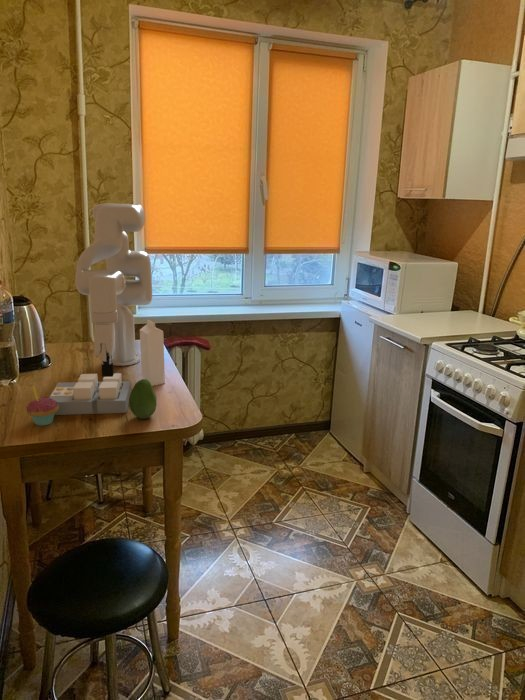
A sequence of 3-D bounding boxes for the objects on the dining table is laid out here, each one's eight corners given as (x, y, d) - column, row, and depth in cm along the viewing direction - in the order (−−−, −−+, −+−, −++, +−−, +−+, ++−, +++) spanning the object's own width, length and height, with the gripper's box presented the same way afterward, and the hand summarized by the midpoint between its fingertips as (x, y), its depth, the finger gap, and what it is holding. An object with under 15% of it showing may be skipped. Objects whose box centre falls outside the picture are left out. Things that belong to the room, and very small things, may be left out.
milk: (149, 387, 181) (146, 324, 175) (141, 381, 186) (138, 320, 179) (165, 383, 185) (163, 322, 178) (157, 378, 189) (155, 318, 183)
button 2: (77, 397, 164) (76, 382, 163) (94, 397, 165) (93, 382, 164) (74, 403, 160) (73, 388, 158) (91, 403, 160) (90, 388, 159)
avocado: (159, 412, 162) (158, 375, 158) (154, 423, 154) (152, 385, 150) (133, 411, 162) (131, 374, 158) (126, 422, 154) (124, 384, 150)
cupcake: (28, 430, 148) (23, 390, 144) (27, 418, 155) (23, 379, 152) (61, 425, 151) (57, 386, 148) (59, 414, 159) (55, 376, 155)
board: (59, 394, 173) (58, 381, 172) (131, 392, 176) (131, 379, 175) (46, 415, 158) (45, 401, 156) (126, 412, 161) (125, 399, 159)
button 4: (102, 396, 165) (101, 381, 164) (119, 396, 166) (118, 381, 165) (100, 403, 161) (99, 387, 159) (117, 402, 161) (116, 387, 160)
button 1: (82, 388, 172) (81, 374, 170) (98, 388, 172) (97, 373, 171) (79, 394, 167) (78, 379, 165) (95, 394, 168) (94, 379, 166)
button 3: (106, 388, 173) (105, 373, 171) (122, 387, 173) (121, 373, 172) (103, 393, 168) (102, 379, 166) (120, 393, 168) (119, 378, 167)
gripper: (95, 311, 162) (99, 368, 167) (86, 322, 148) (90, 384, 153) (120, 311, 163) (123, 367, 168) (114, 322, 149) (117, 384, 154)
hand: (108, 375), depth 161 cm, fingers closed
